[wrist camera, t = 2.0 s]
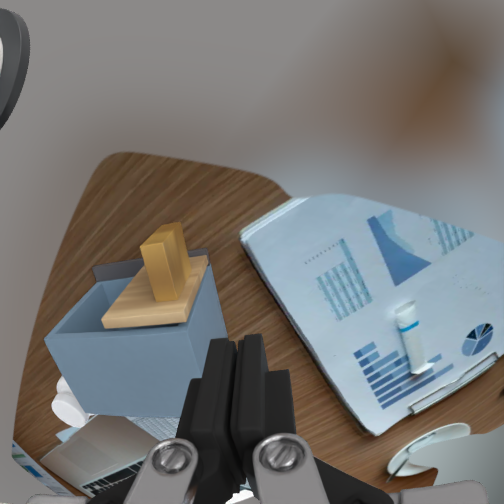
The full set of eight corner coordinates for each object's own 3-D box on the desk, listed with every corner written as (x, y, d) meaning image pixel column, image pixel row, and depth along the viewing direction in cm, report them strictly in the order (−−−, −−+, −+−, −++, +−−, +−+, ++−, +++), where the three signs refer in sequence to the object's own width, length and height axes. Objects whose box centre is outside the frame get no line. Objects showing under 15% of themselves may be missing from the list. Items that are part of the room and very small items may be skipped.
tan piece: (133, 222, 27) (80, 264, 18) (197, 210, 27) (166, 249, 18) (146, 272, 29) (104, 329, 20) (208, 263, 29) (186, 322, 19)
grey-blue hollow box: (94, 265, 30) (34, 321, 19) (207, 247, 29) (180, 309, 19) (123, 344, 33) (85, 413, 23) (227, 335, 32) (216, 416, 22)
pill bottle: (123, 349, 33) (90, 409, 24) (120, 381, 35) (93, 439, 26) (81, 334, 33) (42, 387, 24) (82, 366, 35) (49, 419, 25)
